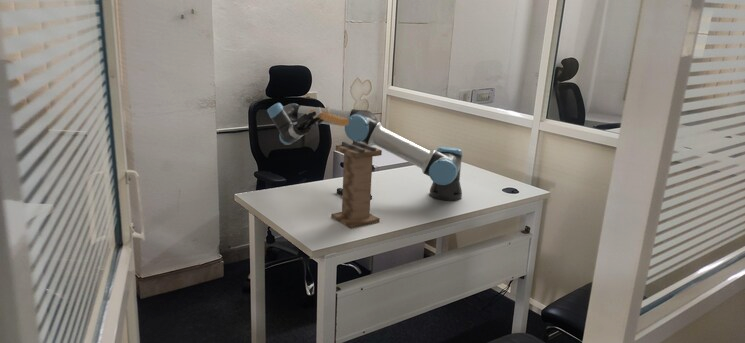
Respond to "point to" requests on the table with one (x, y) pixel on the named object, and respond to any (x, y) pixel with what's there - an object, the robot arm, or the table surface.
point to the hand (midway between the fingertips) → (324, 109)
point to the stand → (356, 184)
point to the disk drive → (340, 192)
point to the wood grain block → (332, 118)
